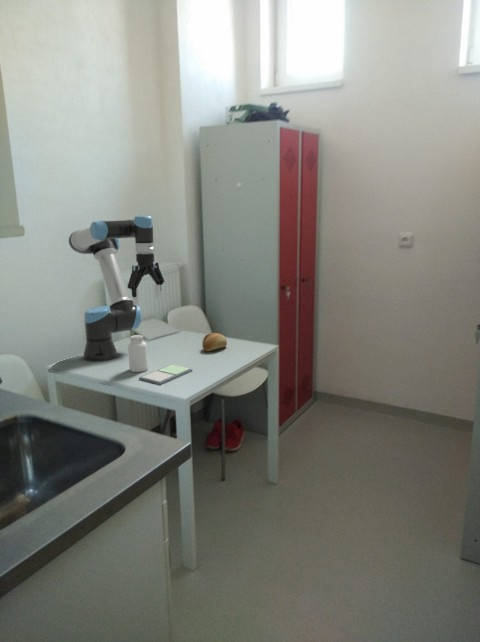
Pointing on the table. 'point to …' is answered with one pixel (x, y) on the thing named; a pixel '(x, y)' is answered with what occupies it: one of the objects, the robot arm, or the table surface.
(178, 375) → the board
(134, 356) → the pill bottle
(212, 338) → the bread roll
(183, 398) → the table surface
